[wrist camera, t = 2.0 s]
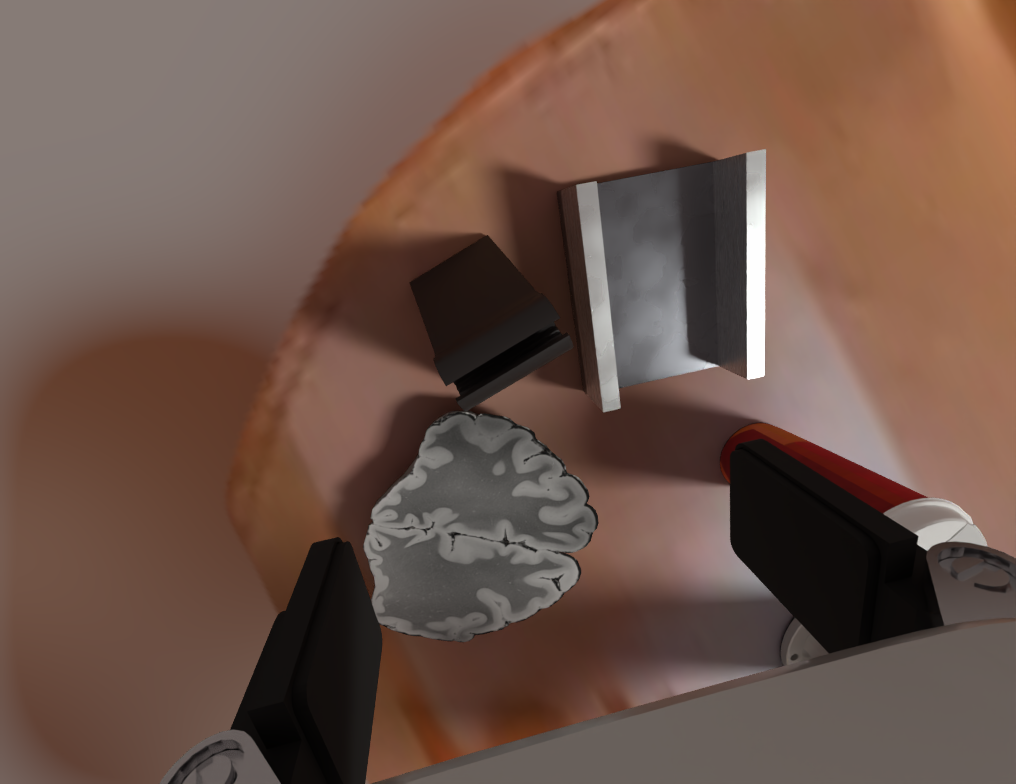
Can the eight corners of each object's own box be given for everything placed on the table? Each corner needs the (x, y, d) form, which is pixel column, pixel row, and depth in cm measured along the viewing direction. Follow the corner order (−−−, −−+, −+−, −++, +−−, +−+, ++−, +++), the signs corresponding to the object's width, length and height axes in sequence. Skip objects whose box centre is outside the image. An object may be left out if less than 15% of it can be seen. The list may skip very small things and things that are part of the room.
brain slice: (542, 624, 42) (550, 652, 39) (349, 600, 38) (343, 629, 36) (617, 429, 37) (632, 445, 34) (403, 379, 33) (399, 392, 30)
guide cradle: (721, 160, 31) (765, 149, 27) (725, 359, 36) (764, 375, 32) (556, 191, 30) (576, 184, 26) (583, 391, 35) (603, 412, 31)
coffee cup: (716, 512, 41) (865, 659, 26) (697, 432, 38) (852, 550, 24) (805, 475, 41) (1000, 603, 27) (792, 393, 38) (1003, 487, 24)
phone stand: (409, 281, 31) (393, 308, 20) (487, 234, 31) (517, 234, 19) (478, 391, 34) (499, 468, 23) (550, 349, 34) (606, 406, 22)
